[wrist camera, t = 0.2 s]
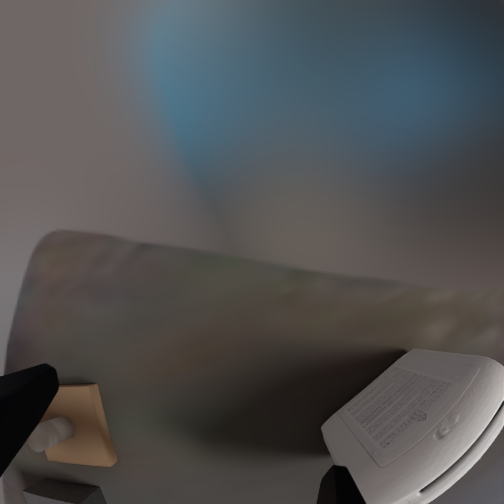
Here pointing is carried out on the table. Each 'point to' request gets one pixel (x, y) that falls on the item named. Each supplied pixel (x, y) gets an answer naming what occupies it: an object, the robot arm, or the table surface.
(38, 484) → the hollow square frame
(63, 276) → the table surface
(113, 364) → the table surface
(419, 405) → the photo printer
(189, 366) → the table surface
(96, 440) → the tan knobbed plate
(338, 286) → the table surface
